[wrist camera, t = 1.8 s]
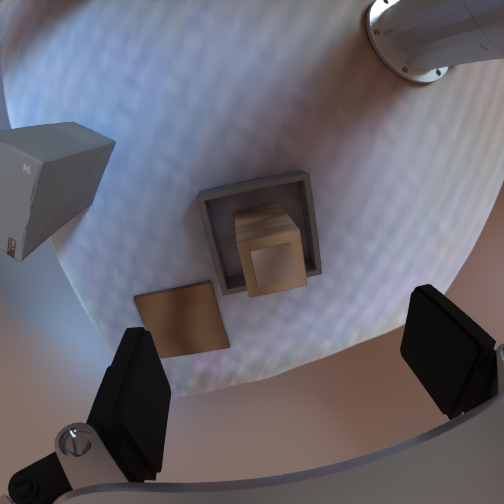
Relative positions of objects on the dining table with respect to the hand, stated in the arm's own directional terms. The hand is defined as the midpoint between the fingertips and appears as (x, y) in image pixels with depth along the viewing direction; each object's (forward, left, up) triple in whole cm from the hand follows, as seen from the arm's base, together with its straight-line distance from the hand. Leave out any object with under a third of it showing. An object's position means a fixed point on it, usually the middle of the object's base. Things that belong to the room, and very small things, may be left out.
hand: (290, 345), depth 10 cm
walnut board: (+11, +14, -24) cm, 30 cm away
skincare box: (+17, -8, -24) cm, 31 cm away
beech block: (-1, +4, -24) cm, 24 cm away
